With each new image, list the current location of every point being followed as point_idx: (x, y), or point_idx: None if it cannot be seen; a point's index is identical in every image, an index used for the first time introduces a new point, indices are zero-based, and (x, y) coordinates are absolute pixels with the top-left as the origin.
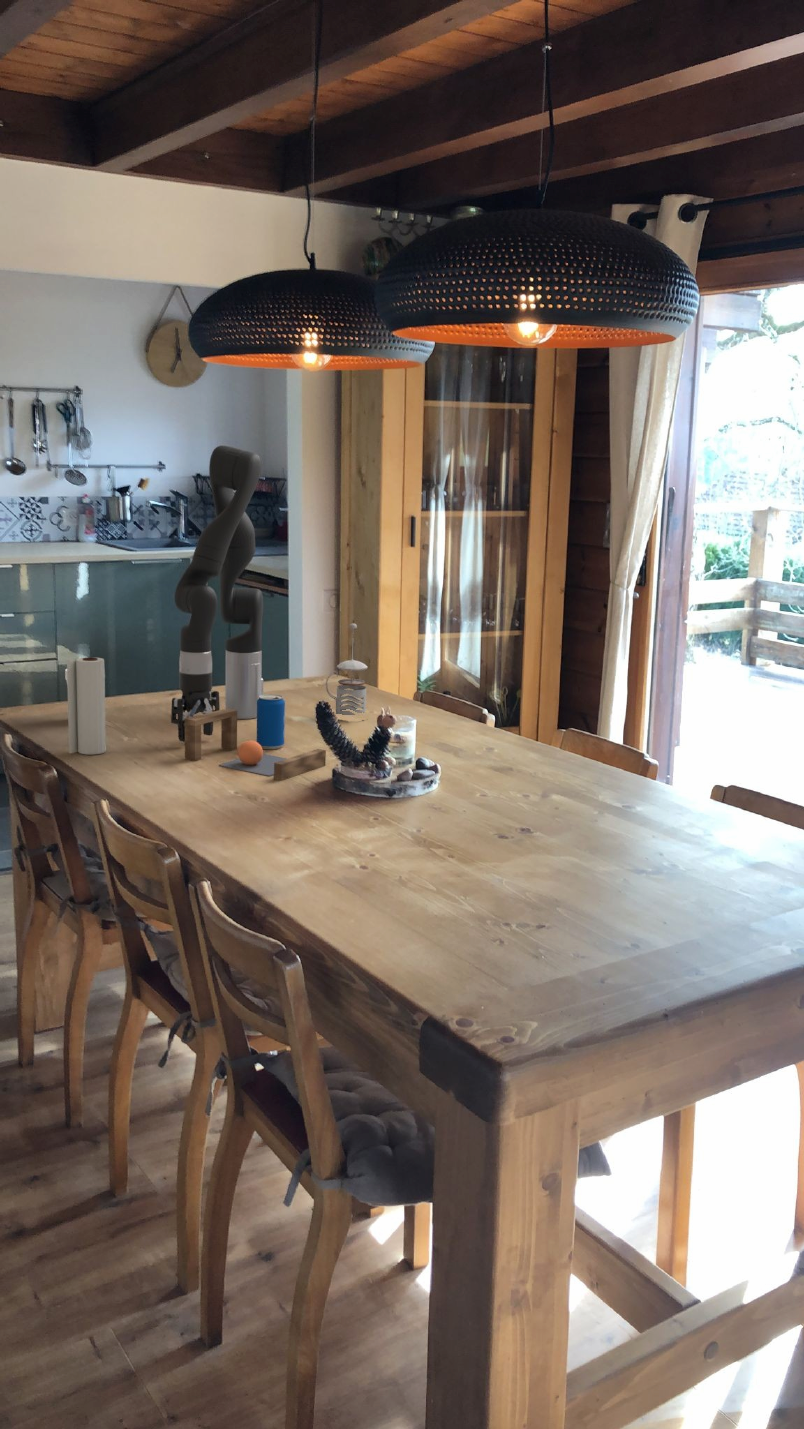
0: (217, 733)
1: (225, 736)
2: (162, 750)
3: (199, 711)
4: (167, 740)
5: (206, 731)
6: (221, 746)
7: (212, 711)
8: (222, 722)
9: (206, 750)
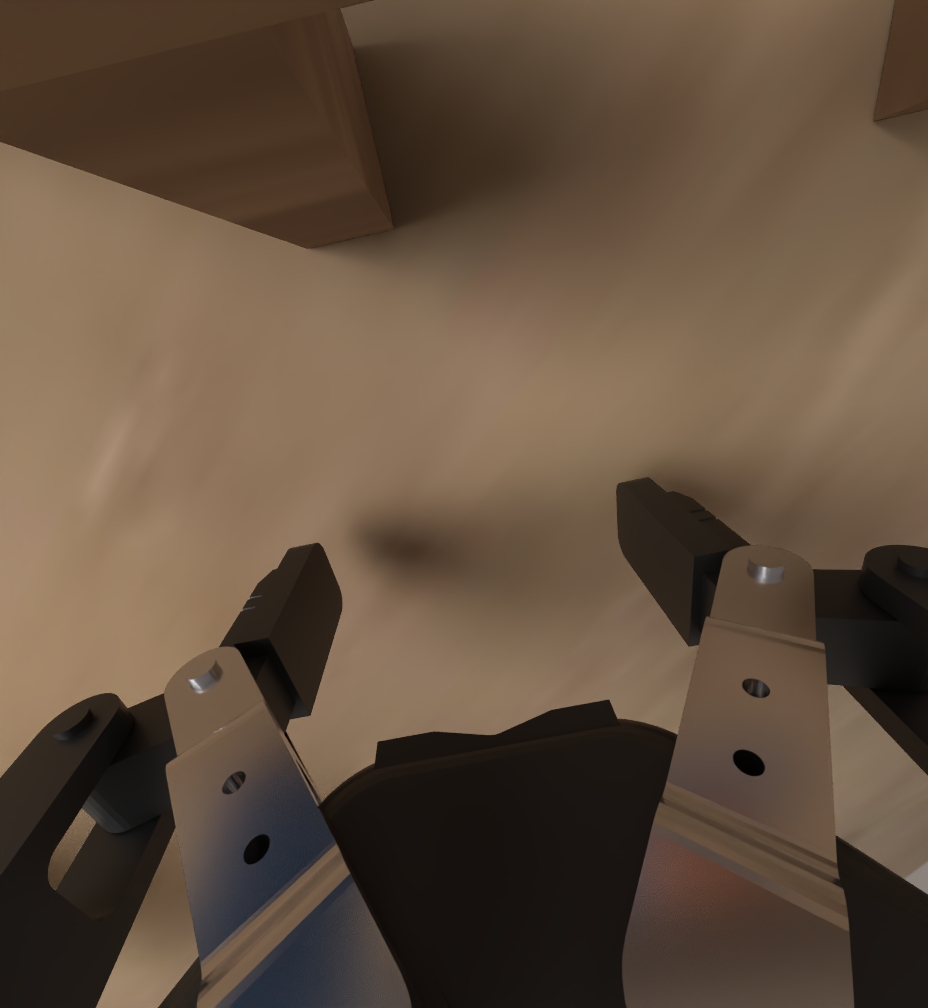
0: (158, 660)
1: (354, 100)
2: (778, 503)
3: (487, 748)
4: (547, 677)
5: (327, 592)
6: (391, 224)
7: (142, 783)
8: (323, 88)
9: (552, 273)
